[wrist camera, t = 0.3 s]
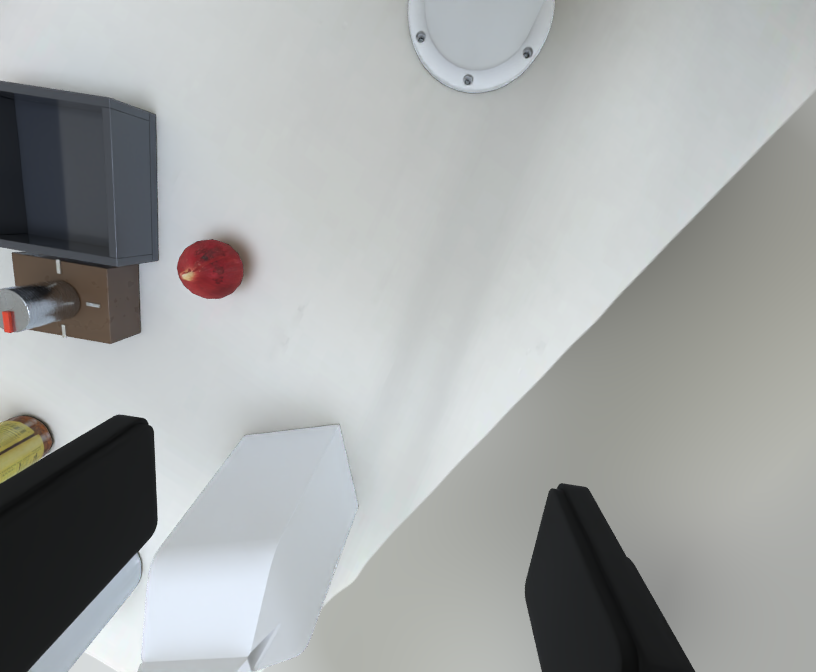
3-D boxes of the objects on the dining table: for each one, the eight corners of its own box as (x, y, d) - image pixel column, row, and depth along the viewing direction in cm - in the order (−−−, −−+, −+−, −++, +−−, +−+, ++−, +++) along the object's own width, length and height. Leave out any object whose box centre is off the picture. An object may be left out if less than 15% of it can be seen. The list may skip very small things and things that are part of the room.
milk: (339, 424, 49) (235, 636, 24) (358, 506, 52) (282, 770, 27) (244, 435, 51) (53, 646, 26) (268, 514, 53) (117, 773, 29)
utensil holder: (83, 610, 61) (-54, 760, 44) (23, 530, 57) (-150, 660, 41) (165, 585, 58) (53, 734, 41) (107, 500, 55) (-41, 624, 38)
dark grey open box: (15, 92, 42) (-53, 72, 36) (156, 114, 41) (109, 97, 35) (31, 239, 46) (-28, 242, 40) (158, 260, 45) (117, 267, 40)
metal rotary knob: (41, 277, 42) (-20, 286, 36) (79, 283, 42) (23, 293, 36) (45, 314, 43) (-14, 329, 38) (81, 321, 43) (28, 336, 37)
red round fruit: (224, 226, 44) (178, 228, 36) (266, 264, 45) (230, 273, 37) (193, 266, 45) (143, 276, 38) (235, 302, 46) (193, 319, 38)
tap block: (51, 248, 46) (9, 251, 41) (138, 262, 46) (105, 267, 41) (57, 319, 48) (18, 329, 44) (140, 333, 48) (109, 345, 43)
